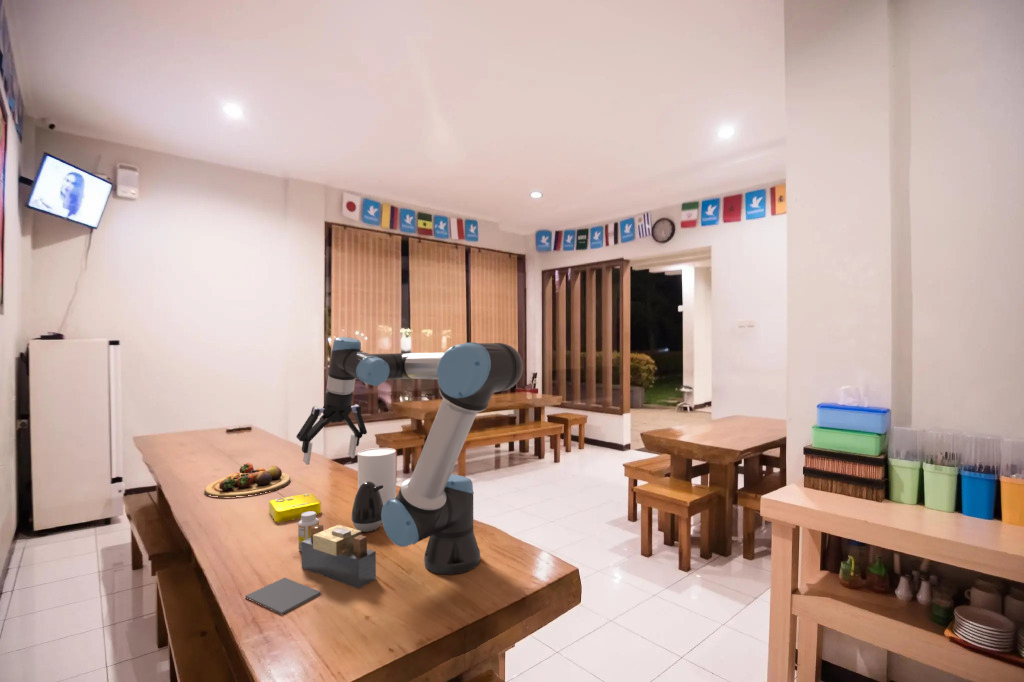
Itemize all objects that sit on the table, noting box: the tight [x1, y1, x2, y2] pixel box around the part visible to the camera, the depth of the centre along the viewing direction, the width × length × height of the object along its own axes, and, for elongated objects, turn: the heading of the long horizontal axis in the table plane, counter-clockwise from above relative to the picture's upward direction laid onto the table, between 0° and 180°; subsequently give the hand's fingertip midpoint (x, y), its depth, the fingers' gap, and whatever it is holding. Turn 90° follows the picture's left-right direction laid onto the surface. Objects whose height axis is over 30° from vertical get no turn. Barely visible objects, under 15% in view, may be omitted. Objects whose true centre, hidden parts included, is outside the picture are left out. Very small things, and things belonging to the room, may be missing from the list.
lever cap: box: [313, 524, 363, 556], centre depth 123 cm, size 9×8×4 cm
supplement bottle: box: [297, 511, 320, 552], centre depth 138 cm, size 6×6×10 cm
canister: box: [357, 447, 397, 505], centre depth 174 cm, size 14×14×20 cm
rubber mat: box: [244, 577, 322, 616], centre depth 112 cm, size 14×10×1 cm
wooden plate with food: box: [204, 462, 291, 497], centre depth 201 cm, size 32×32×8 cm
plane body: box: [301, 524, 377, 589], centre depth 123 cm, size 22×6×11 cm, turn 59°
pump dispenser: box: [351, 482, 383, 533], centre depth 153 cm, size 10×10×15 cm
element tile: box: [268, 492, 322, 523], centre depth 169 cm, size 15×15×5 cm
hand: (329, 459), depth 139 cm, fingers open, 13 cm apart
